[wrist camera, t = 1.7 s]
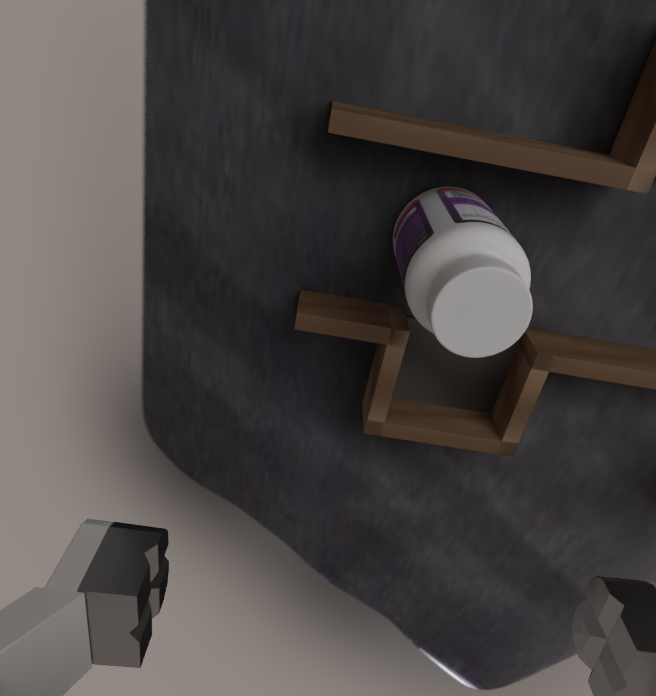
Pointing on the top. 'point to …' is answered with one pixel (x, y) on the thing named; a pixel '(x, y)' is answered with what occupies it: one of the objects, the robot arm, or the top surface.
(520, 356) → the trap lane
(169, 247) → the top surface
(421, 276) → the pill bottle
